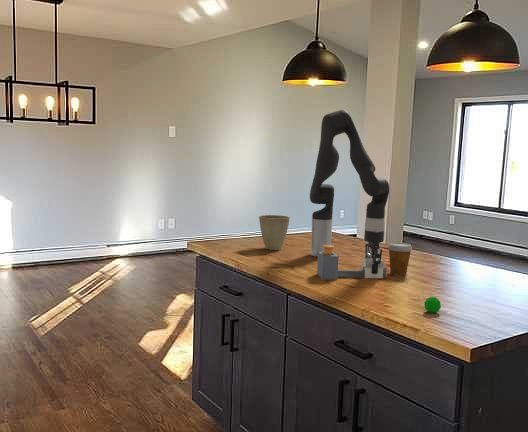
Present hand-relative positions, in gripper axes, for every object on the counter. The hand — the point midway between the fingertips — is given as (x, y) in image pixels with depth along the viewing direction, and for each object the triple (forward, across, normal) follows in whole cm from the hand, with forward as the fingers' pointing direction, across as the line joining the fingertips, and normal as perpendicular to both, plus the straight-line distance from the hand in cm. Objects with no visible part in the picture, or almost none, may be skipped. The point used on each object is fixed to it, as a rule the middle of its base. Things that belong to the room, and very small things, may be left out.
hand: (372, 271), depth 222 cm
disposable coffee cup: (+2, -6, +13) cm, 14 cm away
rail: (+2, 0, -6) cm, 6 cm away
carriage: (+2, 0, 0) cm, 2 cm away
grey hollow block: (+2, 0, -18) cm, 18 cm away
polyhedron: (+2, +48, +4) cm, 48 cm away
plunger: (-6, 0, -18) cm, 19 cm away
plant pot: (+2, -59, -31) cm, 67 cm away
